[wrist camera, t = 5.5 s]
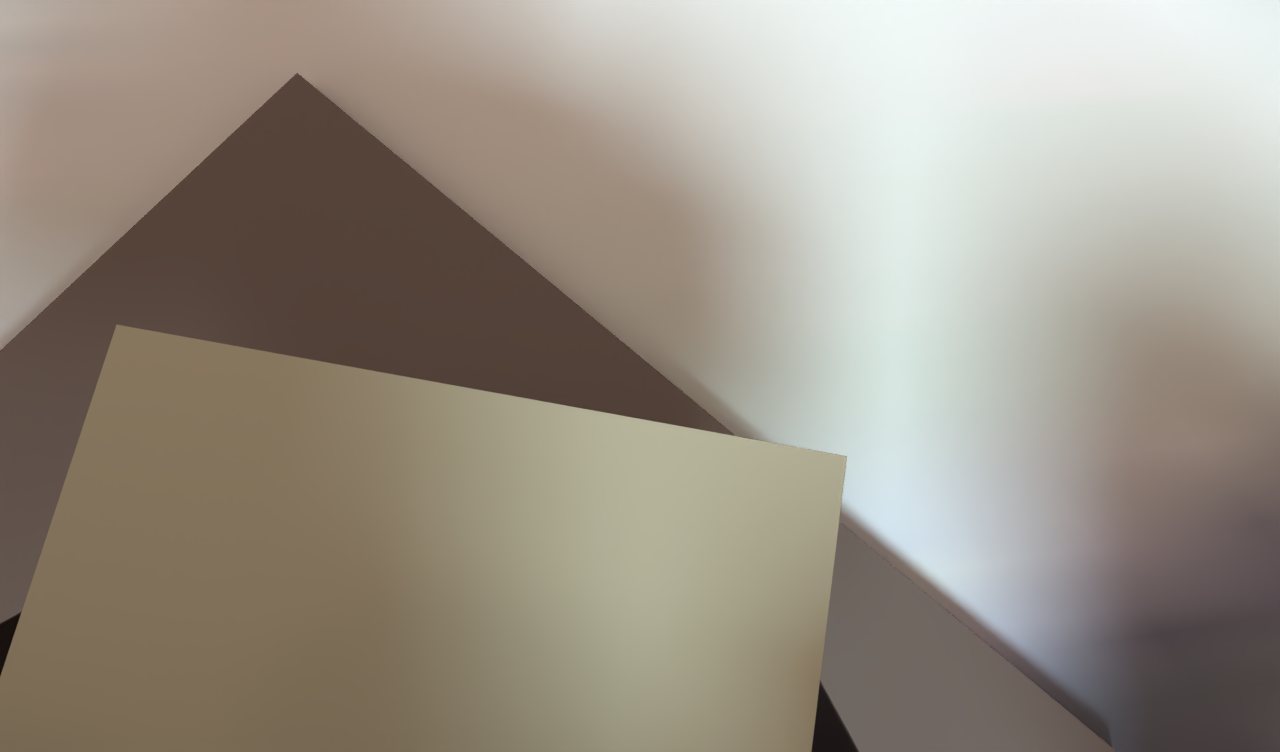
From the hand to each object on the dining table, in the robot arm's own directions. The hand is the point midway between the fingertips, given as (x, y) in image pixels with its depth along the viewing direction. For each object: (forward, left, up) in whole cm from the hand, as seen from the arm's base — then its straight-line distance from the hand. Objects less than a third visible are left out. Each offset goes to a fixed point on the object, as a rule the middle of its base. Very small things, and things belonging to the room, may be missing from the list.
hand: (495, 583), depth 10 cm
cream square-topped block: (-1, +1, -6) cm, 6 cm away
